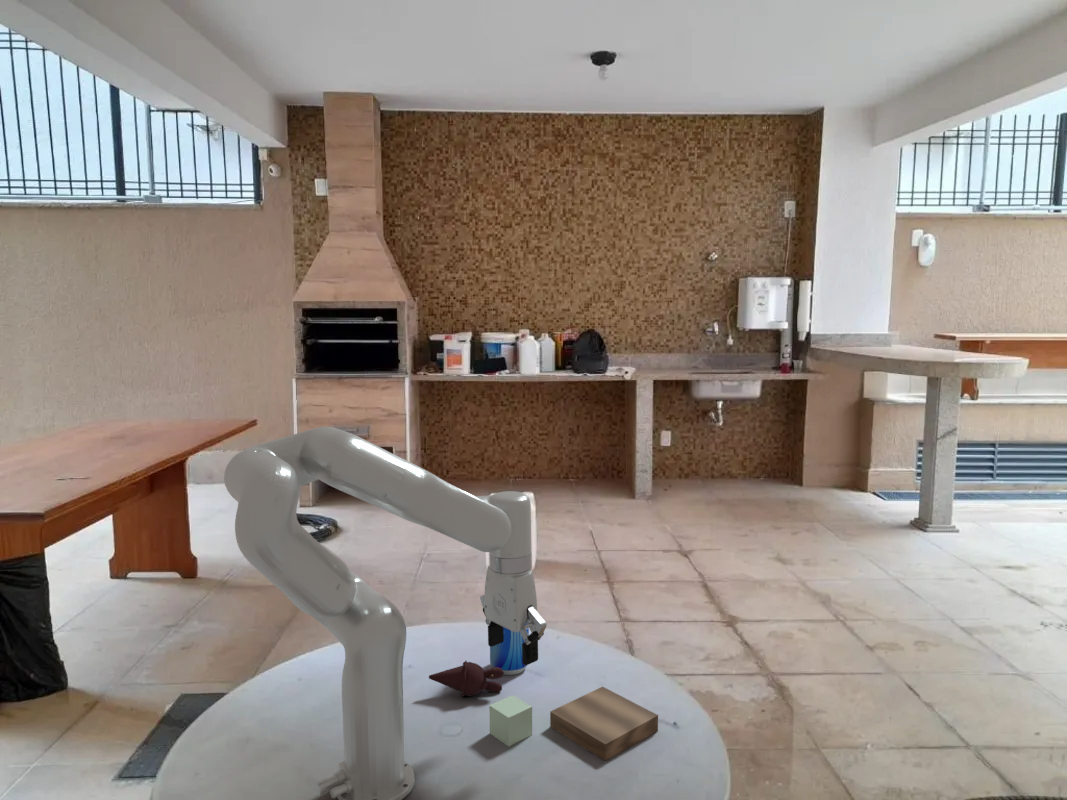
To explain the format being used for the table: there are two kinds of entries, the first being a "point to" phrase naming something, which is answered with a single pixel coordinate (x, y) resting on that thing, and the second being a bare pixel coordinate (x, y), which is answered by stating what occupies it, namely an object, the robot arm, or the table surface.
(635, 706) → the walnut base
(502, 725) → the sage cube
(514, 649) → the beer can
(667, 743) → the table surface
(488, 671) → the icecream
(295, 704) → the table surface
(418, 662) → the table surface
